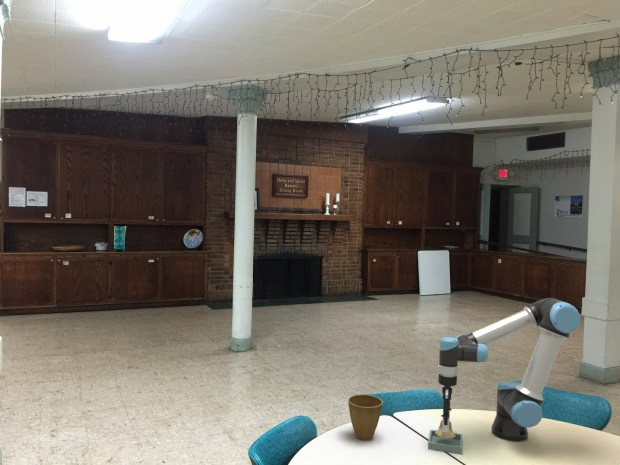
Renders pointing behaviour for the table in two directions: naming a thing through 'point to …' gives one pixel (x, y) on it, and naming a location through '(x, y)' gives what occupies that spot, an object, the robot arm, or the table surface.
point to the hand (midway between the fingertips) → (445, 428)
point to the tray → (445, 443)
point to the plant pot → (364, 414)
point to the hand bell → (445, 434)
